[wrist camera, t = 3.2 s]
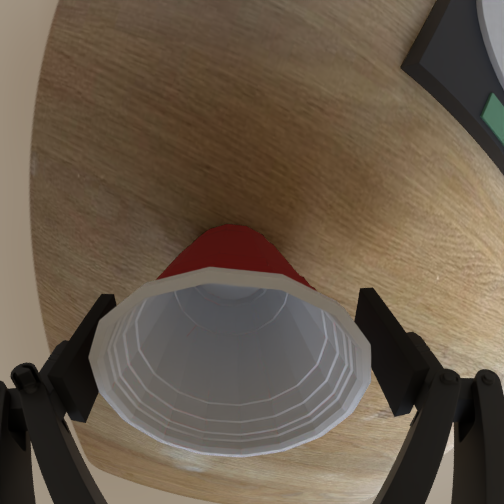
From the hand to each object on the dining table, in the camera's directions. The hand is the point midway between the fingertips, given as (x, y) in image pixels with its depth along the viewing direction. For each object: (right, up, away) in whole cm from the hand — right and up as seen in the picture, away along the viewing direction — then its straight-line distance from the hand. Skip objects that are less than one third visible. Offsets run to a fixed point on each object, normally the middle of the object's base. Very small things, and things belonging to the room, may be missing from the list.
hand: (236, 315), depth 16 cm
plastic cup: (-1, +2, +6) cm, 6 cm away
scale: (+24, +20, 0) cm, 31 cm away
